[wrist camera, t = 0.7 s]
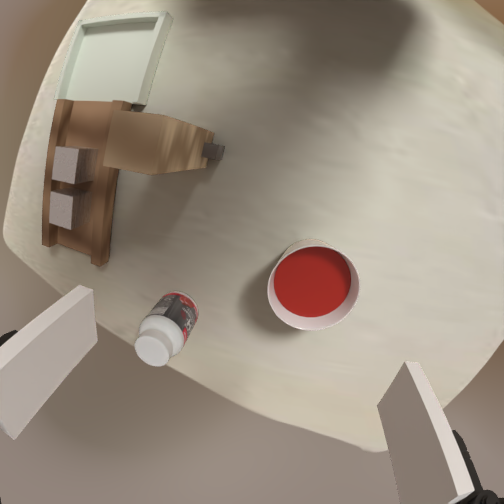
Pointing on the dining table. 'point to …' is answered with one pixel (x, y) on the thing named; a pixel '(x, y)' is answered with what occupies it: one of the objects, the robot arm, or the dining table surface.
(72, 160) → the grey cube
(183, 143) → the tapered wooden board
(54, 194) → the pinkish grey cube
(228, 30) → the dining table surface
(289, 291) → the white round cup
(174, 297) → the pill bottle
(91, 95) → the tray
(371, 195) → the dining table surface
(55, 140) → the slot board
